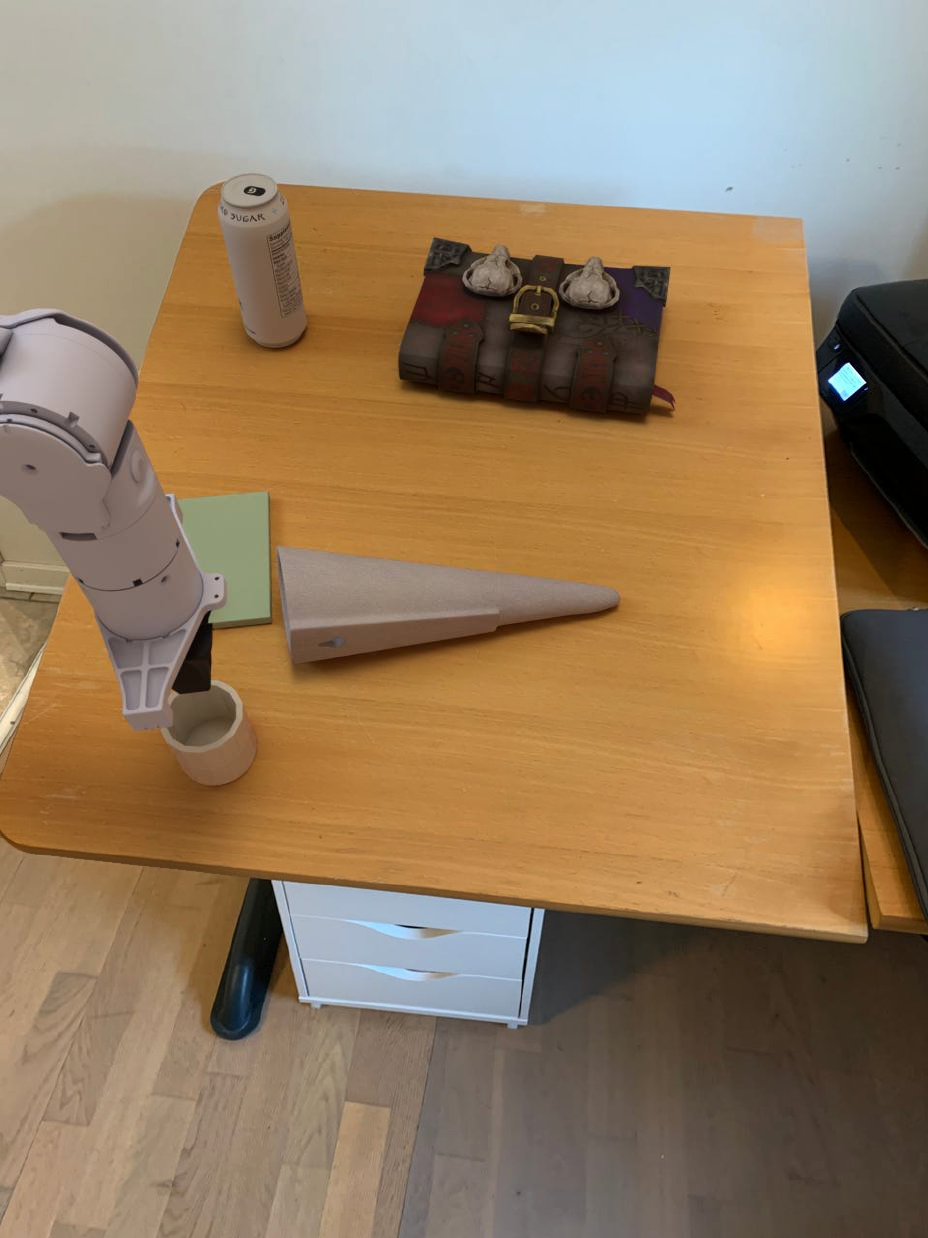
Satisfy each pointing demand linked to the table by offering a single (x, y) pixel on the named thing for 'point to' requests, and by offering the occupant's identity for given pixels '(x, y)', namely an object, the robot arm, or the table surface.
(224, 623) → the scale
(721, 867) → the table surface
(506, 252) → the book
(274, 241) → the energy drink can
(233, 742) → the cup
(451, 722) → the table surface
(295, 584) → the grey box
